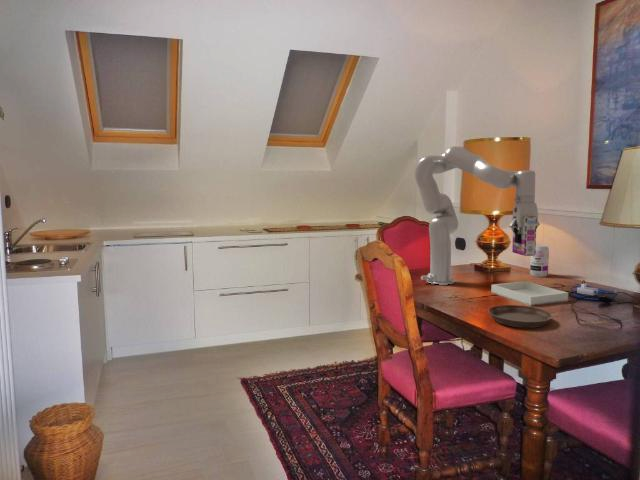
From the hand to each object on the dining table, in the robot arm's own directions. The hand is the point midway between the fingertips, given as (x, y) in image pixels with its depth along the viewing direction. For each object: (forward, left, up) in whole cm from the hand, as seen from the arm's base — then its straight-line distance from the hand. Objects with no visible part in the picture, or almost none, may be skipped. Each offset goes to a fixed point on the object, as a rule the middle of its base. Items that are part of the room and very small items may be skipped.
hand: (524, 242), depth 216 cm
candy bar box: (0, 0, -5) cm, 5 cm away
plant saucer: (-30, -33, -22) cm, 50 cm away
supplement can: (+30, +25, -22) cm, 45 cm away
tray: (-4, -7, -22) cm, 23 cm away
